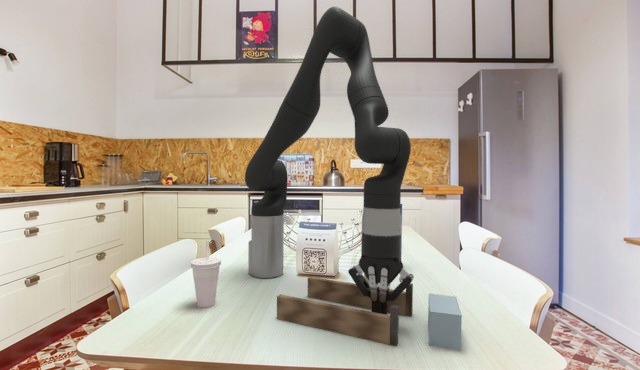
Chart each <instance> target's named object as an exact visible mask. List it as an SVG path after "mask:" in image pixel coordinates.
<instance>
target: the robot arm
mask: <svg viewBox="0 0 640 370" xmlns="http://www.w3.org/2000/svg"><path fill="white" fill-rule="evenodd" d="M371 51H372V50H371V45H370V39H369V35H368V31H367V28H366V25H365V24H364V23H363V22H362V21H360V20H359V19H358V18H356V17H355V16H353V15H351V14H350V13H348V12H347V11H346V10H344V9H342V8H341V7H338V6H332V7H330V8H328V9H327V10H326V11H325V12H324V13H323V15H322V16H321V17H320V20H319V21H318V23H317V25H316V28H315V29H314V32H313V35H312V37H311V39H310V42H309V45H308V47H307V49H306V52H305V55H304V57H303V59H302V62H301V65H300V67H299V69H298V71H297V73H296V75H295V77H294V79H293V81H292V83H291V86H290V87H289V88H288V91H287V93H286V94H285V96H284V99H283V101H282V103H280V106H279V109H278V111H277V113H276V115H275V117H274V118H273V121H272V123H271V125H270V127H269V129H268V130H267V132H266V135H265V136H264V138H263V140H262V141H261V143H260V145H259V146H258V148H257V150H256V151H255V153H254V154H253V156H252V157H251V159H250V160H249V162H248V164H247V165H246V169H245V174H244V182H245V185H246V187H247V188H248V189H249V190H251V191H253V192H263V197H262V198H261V199H260V200H259V201H257V202H255V203H254V204H252V206H251V232H250V233H251V234H250V235H251V239H250V240H249V241H248V261H247V262H248V265H247V267H248V269H247V271H248V275H251V276H253V277H255V278H261V279H271V278H277V277H281V276H282V275H283V274H284V269H285V268H284V267H285V266H284V257H285V255H284V249H285V248H284V245H285V244H284V242H285V241H284V239H285V237H284V232H285V231H284V230H285V229H284V226H285V225H284V224H285V223H284V222H285V221H284V217H285V213H284V211H285V208H286V204H287V198H288V197H287V196H288V181H289V180H288V170H287V167H286V165H285V163H284V162H283V161H281V160H280V159H279V158H280V157H281V156H282V154H283V153H284V152H285V151H286V150H287V149H289V148H290V147H292V145H294V144H295V143H296V142H298V141H299V140H300V139H301V138H302V137H303V136H304V135H305V134H306V133H307V132H308V131H309V129H310V128H311V126H312V124H313V123H314V120H316V117H317V115H318V114H319V111H320V108H321V75H322V70H323V68H324V65H325V64H326V63H325V62H326V60H327V59H328V56H329V54H332V55H334V56H336V57H338V58H340V59H343V60H344V61H345V63H346V65H347V66H348V68H349V70H350V76H349V79H348V80H347V87H346V95H347V96H346V97H347V99H348V103H349V107H350V110H351V112H352V115H353V120H354V150H355V153H356V155H357V157H358V158H359V159H360V160H361V161H362V162H363V163H367V164H371V165H373V164H374V165H377V164H378V165H383V166H382V168H381V171H380V173H379V174H377V175H374V176H370V177H368V178H366V179H365V180H364V183H363V207H362V209H363V210H362V217H361V245H360V246H361V247H360V248H361V251H360V253H361V256H360V258H359V260H358V264H357V265H354V266H352V267H351V268H350V269H348V274H349V276H350V277H351V278H352V280H353V282H354V284H356V285H357V287H358V288H359V290H360V291H361V293H362V294H363V295H364V296H368V297H369V298H371V300H372V309H371V311H370V312H375V313H380V314H386V315H388V313H389V312H388V301H394V300H395V299H396V298H397V297H398V296H399V295H400V294H401V293H402V292H403V291H406V287H407V286H408V285H409V284H410V283H411V284H412V282H413V280H414V278H415V276H414V274H412V273H409V272H407V271H406V270H405V269H404V265H403V264H404V263H403V262H402V249H401V231H403V225H402V226H401V213H400V204H401V198H402V197H401V190H402V189H401V188H402V185H403V184H402V183H403V180H404V178H405V174H406V170H407V168H408V167H407V166H408V163H409V159H410V156H411V152H412V151H411V150H412V149H411V148H412V146H411V145H412V144H411V140H410V137H409V135H408V133H407V132H406V130H403V129H402V128H398V127H384V126H381V125H383V124H384V123H385V122H386V121H387V119H388V117H389V107H388V104H387V101H386V99H385V96H384V94H383V91H382V89H381V86H380V84H379V81H378V79H377V76H376V75H377V74H376V71H375V67H374V63H373V62H374V61H373V57H372V52H371ZM364 274H365V275H366V277H367V279H368V280H369V284H368V282H367V281H366V279H365V278H364ZM398 276H399V278H398V280H399V282H400V283H399V284H398V285H397V286H396V287H395V288H394V289H392V290H393V291H392V292H389V289H391V283H392V282H394V280H395V279H396V278H397V277H398Z"/></svg>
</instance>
